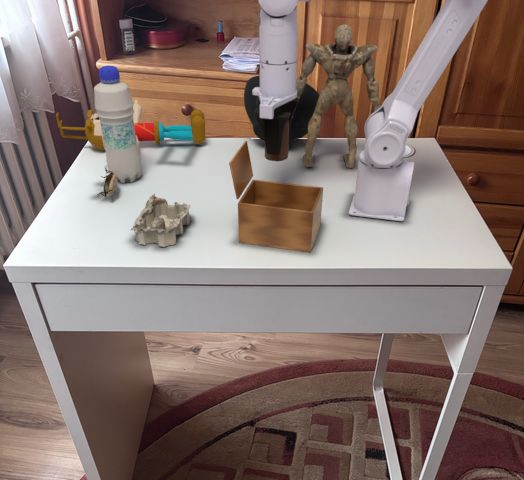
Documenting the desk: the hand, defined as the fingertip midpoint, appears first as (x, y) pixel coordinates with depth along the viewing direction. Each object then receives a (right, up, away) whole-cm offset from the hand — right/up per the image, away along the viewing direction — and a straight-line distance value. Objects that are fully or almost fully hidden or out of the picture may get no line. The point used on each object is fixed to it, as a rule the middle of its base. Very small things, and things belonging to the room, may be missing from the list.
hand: (276, 148), depth 93 cm
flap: (-5, -6, -8) cm, 11 cm away
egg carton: (-19, -14, -1) cm, 24 cm away
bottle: (-29, -1, +14) cm, 32 cm away
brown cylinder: (0, -1, +1) cm, 1 cm away
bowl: (0, +10, +22) cm, 25 cm away
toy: (-15, +13, +25) cm, 32 cm away
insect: (-32, -3, +7) cm, 33 cm away
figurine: (+11, +5, +20) cm, 23 cm away
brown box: (+1, -15, -2) cm, 15 cm away
